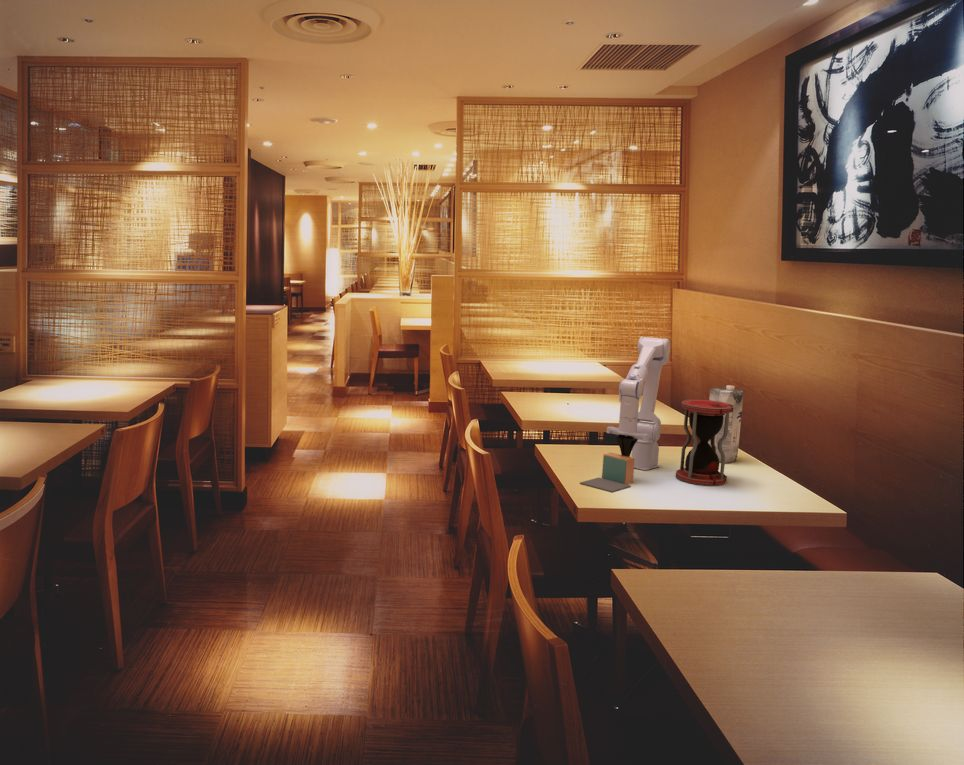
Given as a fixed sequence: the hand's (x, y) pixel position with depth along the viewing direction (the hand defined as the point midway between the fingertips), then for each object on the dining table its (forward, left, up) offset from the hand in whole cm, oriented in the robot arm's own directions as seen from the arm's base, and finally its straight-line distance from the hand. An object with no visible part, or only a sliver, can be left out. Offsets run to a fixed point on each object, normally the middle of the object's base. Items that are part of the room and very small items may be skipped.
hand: (625, 458), depth 269 cm
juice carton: (-51, +7, -7) cm, 52 cm away
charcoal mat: (+12, +1, -6) cm, 14 cm away
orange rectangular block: (+4, 0, -6) cm, 8 cm away
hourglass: (-20, +16, -7) cm, 27 cm away
